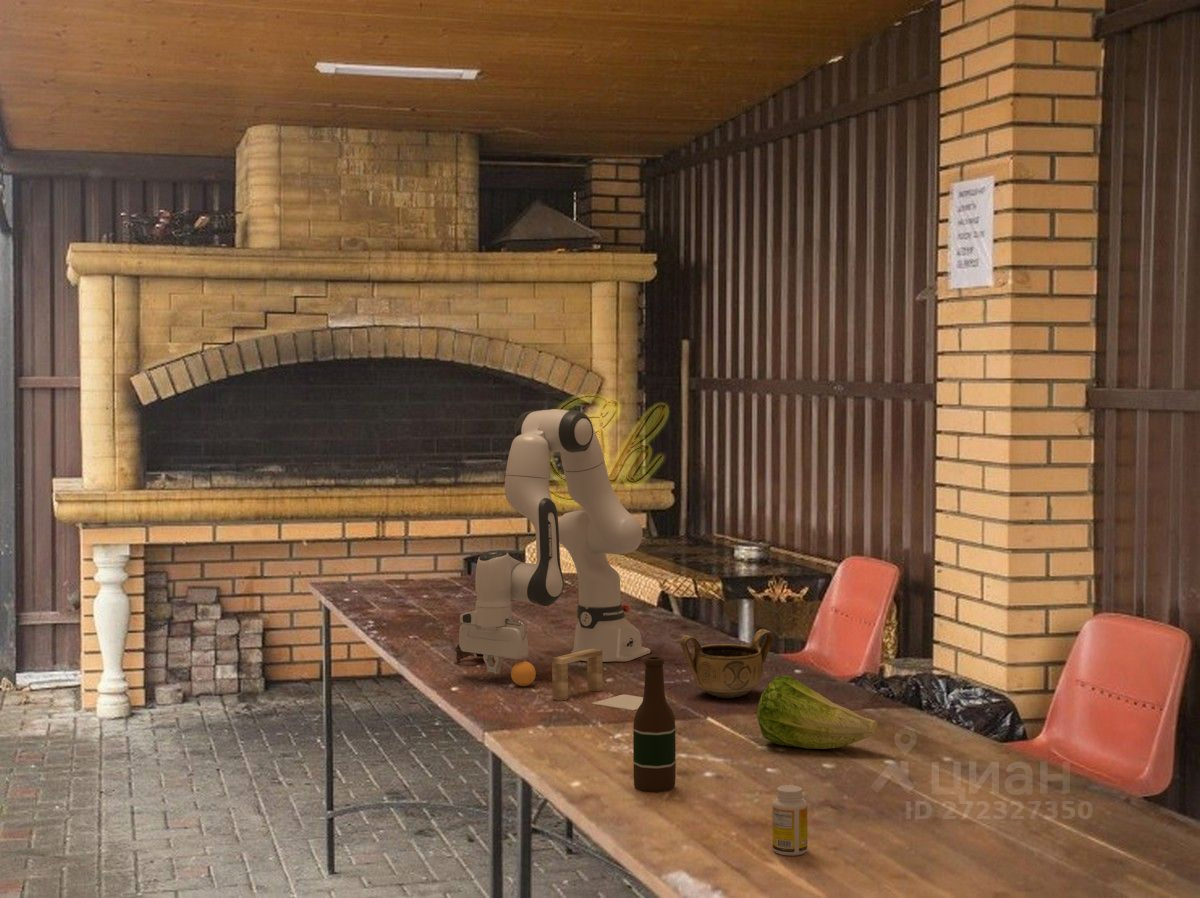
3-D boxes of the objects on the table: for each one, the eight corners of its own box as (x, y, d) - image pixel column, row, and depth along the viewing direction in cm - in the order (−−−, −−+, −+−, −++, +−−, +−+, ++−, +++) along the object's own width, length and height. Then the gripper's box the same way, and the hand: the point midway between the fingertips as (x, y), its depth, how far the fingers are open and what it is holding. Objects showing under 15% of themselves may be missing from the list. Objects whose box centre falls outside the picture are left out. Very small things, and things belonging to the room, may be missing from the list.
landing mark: (623, 695, 372) (623, 694, 372) (664, 701, 364) (664, 700, 364) (591, 703, 362) (591, 703, 362) (633, 710, 355) (633, 709, 355)
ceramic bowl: (757, 686, 382) (757, 624, 381) (786, 700, 365) (786, 635, 365) (670, 692, 375) (670, 629, 375) (695, 706, 359) (695, 641, 358)
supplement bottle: (801, 845, 255) (801, 782, 254) (812, 855, 249) (812, 791, 249) (767, 847, 254) (768, 784, 253) (777, 858, 248) (778, 793, 248)
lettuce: (889, 752, 320) (860, 775, 308) (780, 729, 333) (747, 750, 320) (892, 683, 318) (863, 704, 305) (782, 663, 330) (749, 681, 318)
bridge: (552, 699, 368) (552, 657, 367) (592, 688, 380) (592, 648, 379) (562, 700, 366) (562, 659, 365) (602, 690, 378) (602, 649, 377)
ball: (522, 682, 387) (522, 658, 387) (540, 685, 384) (540, 660, 383) (506, 686, 383) (505, 661, 382) (524, 689, 379) (524, 664, 379)
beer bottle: (631, 782, 294) (630, 654, 293) (672, 781, 295) (672, 653, 294) (635, 793, 286) (635, 662, 285) (678, 792, 287) (678, 661, 286)
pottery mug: (495, 667, 410) (480, 641, 408) (464, 682, 411) (448, 657, 409) (500, 648, 421) (485, 622, 419) (470, 662, 423) (454, 637, 421)
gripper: (534, 619, 384) (534, 676, 385) (472, 612, 397) (472, 666, 398) (516, 623, 379) (517, 680, 380) (454, 615, 392) (455, 670, 393)
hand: (493, 673), depth 389 cm, fingers closed
